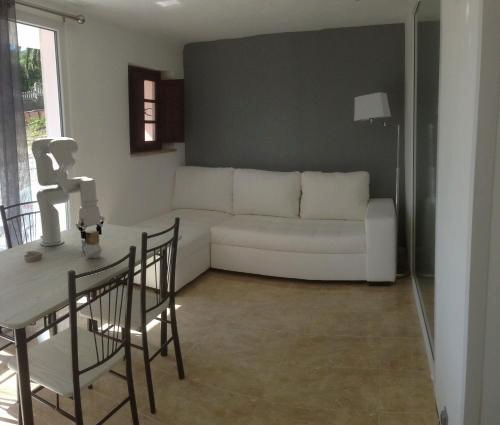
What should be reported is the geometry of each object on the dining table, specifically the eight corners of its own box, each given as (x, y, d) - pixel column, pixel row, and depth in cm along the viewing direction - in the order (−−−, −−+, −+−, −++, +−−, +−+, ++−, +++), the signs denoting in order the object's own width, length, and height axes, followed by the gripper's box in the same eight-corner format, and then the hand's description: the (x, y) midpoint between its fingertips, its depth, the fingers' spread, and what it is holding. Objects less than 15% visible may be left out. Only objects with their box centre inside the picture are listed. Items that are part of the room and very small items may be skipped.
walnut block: (85, 243, 244) (84, 232, 243) (92, 241, 248) (91, 229, 247) (91, 244, 242) (90, 233, 240) (99, 242, 246) (98, 231, 245)
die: (92, 262, 241) (102, 245, 242) (77, 253, 241) (88, 236, 243) (97, 262, 249) (107, 246, 250) (83, 254, 250) (93, 238, 251)
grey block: (82, 250, 258) (81, 240, 257) (88, 248, 263) (87, 237, 262) (90, 251, 257) (89, 240, 256) (96, 248, 262) (95, 238, 260)
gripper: (97, 200, 250) (100, 231, 254) (69, 205, 236) (72, 239, 239) (107, 201, 246) (109, 233, 250) (79, 207, 232) (82, 241, 235)
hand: (91, 236), depth 244 cm, fingers open, 9 cm apart
